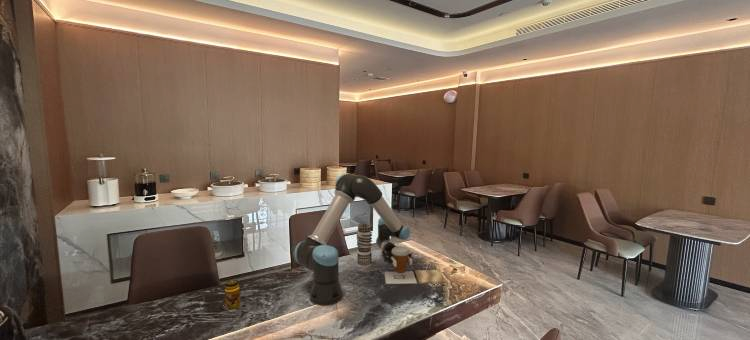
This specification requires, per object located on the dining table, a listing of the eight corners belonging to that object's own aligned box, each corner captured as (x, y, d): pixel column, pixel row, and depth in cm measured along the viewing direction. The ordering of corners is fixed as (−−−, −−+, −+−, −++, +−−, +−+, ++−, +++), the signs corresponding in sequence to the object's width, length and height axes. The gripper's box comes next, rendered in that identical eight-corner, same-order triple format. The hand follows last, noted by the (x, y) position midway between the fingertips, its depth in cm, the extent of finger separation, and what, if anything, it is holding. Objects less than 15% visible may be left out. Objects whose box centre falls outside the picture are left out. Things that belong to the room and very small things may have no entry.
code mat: (386, 284, 162) (386, 283, 162) (384, 272, 176) (384, 271, 176) (417, 283, 162) (417, 282, 162) (412, 271, 176) (412, 271, 176)
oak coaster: (418, 283, 162) (418, 281, 162) (414, 271, 176) (414, 270, 176) (445, 282, 163) (445, 281, 163) (439, 271, 177) (439, 269, 176)
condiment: (231, 313, 135) (229, 286, 134) (218, 308, 139) (217, 282, 138) (245, 305, 142) (244, 280, 140) (233, 300, 146) (232, 275, 144)
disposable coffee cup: (388, 268, 172) (389, 247, 170) (405, 266, 174) (405, 245, 173) (395, 275, 163) (395, 253, 161) (412, 273, 165) (412, 251, 164)
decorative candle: (375, 263, 188) (375, 222, 185) (366, 269, 180) (366, 226, 177) (362, 260, 192) (362, 220, 190) (353, 265, 185) (353, 224, 182)
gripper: (405, 253, 188) (421, 267, 167) (372, 256, 182) (384, 272, 161) (405, 240, 188) (422, 254, 166) (372, 244, 182) (384, 258, 160)
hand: (403, 263), depth 163 cm, fingers closed on disposable coffee cup, 8 cm apart
